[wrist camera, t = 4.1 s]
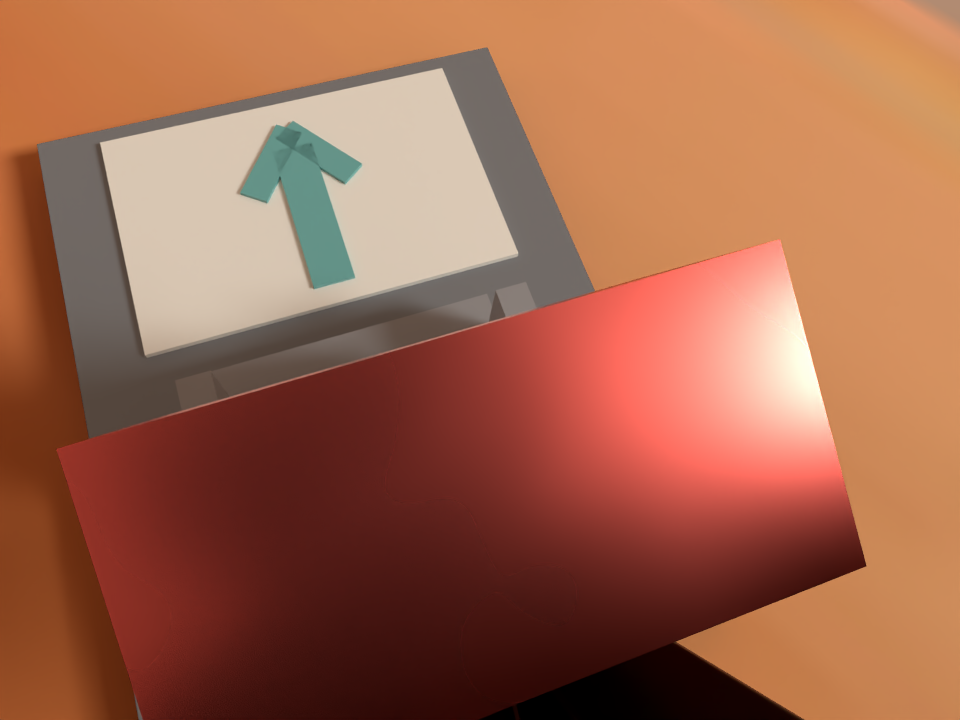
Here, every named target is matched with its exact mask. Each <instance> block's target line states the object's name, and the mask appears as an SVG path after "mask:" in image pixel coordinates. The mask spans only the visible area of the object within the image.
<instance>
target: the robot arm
mask: <svg viewBox="0 0 960 720" xmlns="http://www.w3.org/2000/svg"><path fill="white" fill-rule="evenodd" d="M478 720H804V719H802V718H801V717H799V716H797V715H796V714H794V713H793V712H791V711H789V710H788V709H786V708H784V707H783V706H781V705H779V704H778V703H776V702H774V701H773V700H771V699H769V698H768V697H766V696H764V695H763V694H761V693H759V692H758V691H756V690H754V689H753V688H751V687H750V686H748V685H746V684H745V683H743V682H741V681H740V680H738V679H736V678H735V677H733V676H731V675H730V674H728V673H726V672H725V671H723V670H721V669H720V668H718V667H716V666H715V665H713V664H712V663H710V662H708V661H707V660H705V659H703V658H702V657H700V656H698V655H697V654H695V653H693V652H692V651H690V650H688V649H687V648H685V647H683V646H682V645H680V644H678V643H677V642H673V643H670V644H668V645H665V646H663V647H660V648H658V649H655V650H653V651H650V652H648V653H645V654H643V655H640V656H638V657H635V658H632V659H630V660H627V661H625V662H622V663H620V664H617V665H615V666H612V667H610V668H607V669H605V670H602V671H600V672H597V673H594V674H592V675H589V676H587V677H584V678H582V679H579V680H577V681H574V682H572V683H569V684H567V685H564V686H562V687H559V688H556V689H554V690H551V691H549V692H546V693H544V694H541V695H539V696H536V697H534V698H531V699H529V700H526V701H524V702H521V703H518V704H516V705H513V706H511V707H508V708H506V709H503V710H501V711H498V712H496V713H493V714H491V715H488V716H486V717H483V718H481V719H478Z"/></svg>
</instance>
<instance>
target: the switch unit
mask: <svg viewBox="0 0 960 720" xmlns="http://www.w3.org/2000/svg"><path fill="white" fill-rule="evenodd" d="M37 147H38V153H39V158H40V164H41V170H42V175H43V181H44V187H45V192H46V198H47V204H48V209H49V215H50V221H51V226H52V232H53V238H54V243H55V249H56V255H57V260H58V266H59V272H60V277H61V283H62V288H63V294H64V300H65V305H66V311H67V317H68V322H69V328H70V334H71V339H72V345H73V351H74V356H75V362H76V368H77V373H78V379H79V385H80V390H81V396H82V402H83V407H84V413H85V419H86V424H87V430H88V436H89V439H90V438H93V437H97V436H100V435H103V434H106V433H109V432H113V431H116V430H119V429H122V428H126V427H129V426H132V425H135V424H138V423H142V422H145V421H148V420H151V419H155V418H158V417H162V416H165V415H169V414H172V413H176V412H179V411H182V410H186V409H189V408H193V407H196V406H200V405H203V404H207V403H210V402H214V401H217V400H220V399H224V398H227V397H231V396H234V395H238V394H241V393H245V392H248V391H252V390H255V389H259V388H262V387H265V386H269V385H272V384H276V383H279V382H283V381H286V380H290V379H293V378H297V377H300V376H303V375H307V374H310V373H314V372H317V371H321V370H324V369H328V368H331V367H335V366H338V365H342V364H345V363H348V362H352V361H355V360H359V359H362V358H366V357H369V356H373V355H376V354H380V353H383V352H387V351H390V350H393V349H397V348H400V347H404V346H407V345H411V344H414V343H418V342H421V341H425V340H428V339H431V338H435V337H438V336H442V335H445V334H449V333H452V332H456V331H459V330H463V329H466V328H470V327H473V326H476V325H480V324H483V323H487V322H490V321H494V320H497V319H501V318H504V317H508V316H511V315H514V314H518V313H521V312H525V311H528V310H532V309H535V308H539V307H542V306H546V305H549V304H553V303H556V302H559V301H563V300H566V299H570V298H573V297H577V296H580V295H584V294H587V293H591V292H594V291H595V290H594V288H593V286H592V283H591V281H590V279H589V277H588V274H587V272H586V270H585V268H584V265H583V263H582V261H581V259H580V256H579V254H578V252H577V250H576V247H575V245H574V243H573V240H572V238H571V236H570V234H569V231H568V229H567V227H566V225H565V222H564V220H563V218H562V216H561V213H560V211H559V209H558V206H557V204H556V202H555V200H554V197H553V195H552V193H551V191H550V188H549V186H548V184H547V182H546V179H545V177H544V175H543V173H542V170H541V168H540V166H539V163H538V161H537V159H536V157H535V154H534V152H533V150H532V148H531V145H530V143H529V141H528V139H527V136H526V134H525V132H524V129H523V127H522V125H521V123H520V120H519V118H518V116H517V114H516V111H515V109H514V107H513V105H512V102H511V100H510V98H509V95H508V93H507V91H506V89H505V86H504V84H503V82H502V80H501V77H500V75H499V73H498V71H497V68H496V66H495V64H494V62H493V59H492V57H491V55H490V52H489V50H488V48H482V49H478V50H473V51H468V52H464V53H459V54H454V55H450V56H445V57H440V58H436V59H431V60H426V61H422V62H417V63H412V64H408V65H403V66H399V67H394V68H389V69H385V70H380V71H375V72H371V73H366V74H361V75H357V76H352V77H347V78H343V79H338V80H333V81H329V82H324V83H320V84H315V85H310V86H306V87H301V88H296V89H292V90H287V91H282V92H278V93H273V94H268V95H264V96H259V97H254V98H250V99H245V100H241V101H236V102H231V103H227V104H222V105H217V106H213V107H208V108H203V109H199V110H194V111H189V112H185V113H180V114H175V115H171V116H166V117H162V118H157V119H152V120H148V121H143V122H138V123H134V124H129V125H124V126H120V127H115V128H110V129H106V130H101V131H96V132H92V133H87V134H83V135H78V136H73V137H69V138H64V139H59V140H55V141H50V142H45V143H41V144H37ZM134 696H135V694H134ZM135 702H136V707H137V713H138V718H139V720H143V719H142V716H141V713H140V710H139V706H138V703H137V700H136V697H135Z"/></svg>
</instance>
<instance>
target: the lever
mask: <svg viewBox="0 0 960 720" xmlns="http://www.w3.org/2000/svg"><path fill="white" fill-rule="evenodd" d="M56 450H57V453H58V456H59V459H60V462H61V465H62V469H63V472H64V475H65V478H66V481H67V484H68V487H69V490H70V494H71V497H72V500H73V503H74V506H75V509H76V512H77V515H78V519H79V522H80V525H81V528H82V531H83V534H84V537H85V541H86V544H87V547H88V550H89V553H90V556H91V559H92V562H93V566H94V569H95V572H96V575H97V578H98V581H99V584H100V587H101V591H102V594H103V597H104V600H105V603H106V606H107V609H108V613H109V616H110V619H111V622H112V625H113V628H114V631H115V634H116V638H117V641H118V644H119V647H120V650H121V653H122V656H123V660H124V663H125V666H126V669H127V672H128V675H129V678H130V681H131V685H132V688H133V691H134V694H135V697H136V700H137V703H138V706H139V710H140V713H141V716H142V719H143V720H478V719H481V718H483V717H486V716H488V715H491V714H493V713H496V712H498V711H501V710H503V709H506V708H508V707H511V706H513V705H516V704H518V703H521V702H524V701H526V700H529V699H531V698H534V697H536V696H539V695H541V694H544V693H546V692H549V691H551V690H554V689H556V688H559V687H562V686H564V685H567V684H569V683H572V682H574V681H577V680H579V679H582V678H584V677H587V676H589V675H592V674H594V673H597V672H600V671H602V670H605V669H607V668H610V667H612V666H615V665H617V664H620V663H622V662H625V661H627V660H630V659H632V658H635V657H638V656H640V655H643V654H645V653H648V652H650V651H653V650H655V649H658V648H660V647H663V646H665V645H668V644H670V643H673V642H676V641H678V640H681V639H683V638H686V637H688V636H691V635H693V634H696V633H698V632H701V631H703V630H706V629H708V628H711V627H714V626H716V625H719V624H721V623H724V622H726V621H729V620H731V619H734V618H736V617H739V616H741V615H744V614H746V613H749V612H752V611H754V610H757V609H759V608H762V607H764V606H767V605H769V604H772V603H774V602H777V601H779V600H782V599H784V598H787V597H789V596H792V595H795V594H797V593H800V592H802V591H805V590H807V589H810V588H812V587H815V586H817V585H820V584H822V583H825V582H827V581H830V580H833V579H835V578H838V577H840V576H843V575H845V574H848V573H850V572H853V571H855V570H858V569H860V568H863V567H865V566H866V563H865V559H864V555H863V551H862V547H861V544H860V540H859V536H858V532H857V529H856V525H855V521H854V517H853V514H852V510H851V506H850V502H849V498H848V495H847V491H846V487H845V483H844V480H843V476H842V472H841V468H840V465H839V461H838V457H837V453H836V449H835V446H834V442H833V438H832V434H831V431H830V427H829V423H828V419H827V415H826V412H825V408H824V404H823V400H822V397H821V393H820V389H819V385H818V382H817V378H816V374H815V370H814V366H813V363H812V359H811V355H810V351H809V348H808V344H807V340H806V336H805V333H804V329H803V325H802V321H801V317H800V314H799V310H798V306H797V302H796V299H795V295H794V291H793V287H792V284H791V280H790V276H789V272H788V268H787V265H786V261H785V257H784V253H783V250H782V246H781V242H780V240H776V241H772V242H769V243H765V244H762V245H758V246H754V247H751V248H747V249H744V250H740V251H736V252H733V253H729V254H726V255H722V256H718V257H715V258H711V259H707V260H704V261H700V262H697V263H693V264H689V265H686V266H682V267H679V268H675V269H671V270H668V271H664V272H661V273H657V274H653V275H650V276H646V277H643V278H639V279H636V280H632V281H629V282H625V283H622V284H618V285H615V286H611V287H608V288H604V289H601V290H598V291H594V292H591V293H587V294H584V295H580V296H577V297H573V298H570V299H566V300H563V301H559V302H556V303H553V304H549V305H546V306H542V307H539V308H535V309H532V310H528V311H525V312H521V313H518V314H514V315H511V316H508V317H504V318H501V319H497V320H494V321H490V322H487V323H483V324H480V325H476V326H473V327H470V328H466V329H463V330H459V331H456V332H452V333H449V334H445V335H442V336H438V337H435V338H431V339H428V340H425V341H421V342H418V343H414V344H411V345H407V346H404V347H400V348H397V349H393V350H390V351H387V352H383V353H380V354H376V355H373V356H369V357H366V358H362V359H359V360H355V361H352V362H348V363H345V364H342V365H338V366H335V367H331V368H328V369H324V370H321V371H317V372H314V373H310V374H307V375H303V376H300V377H297V378H293V379H290V380H286V381H283V382H279V383H276V384H272V385H269V386H265V387H262V388H259V389H255V390H252V391H248V392H245V393H241V394H238V395H234V396H231V397H227V398H224V399H220V400H217V401H214V402H210V403H207V404H203V405H200V406H196V407H193V408H189V409H186V410H182V411H179V412H176V413H172V414H169V415H165V416H162V417H158V418H155V419H151V420H148V421H145V422H142V423H138V424H135V425H132V426H129V427H126V428H122V429H119V430H116V431H113V432H109V433H106V434H103V435H100V436H97V437H93V438H90V439H87V440H84V441H80V442H77V443H74V444H71V445H67V446H64V447H61V448H58V449H56Z"/></svg>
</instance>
